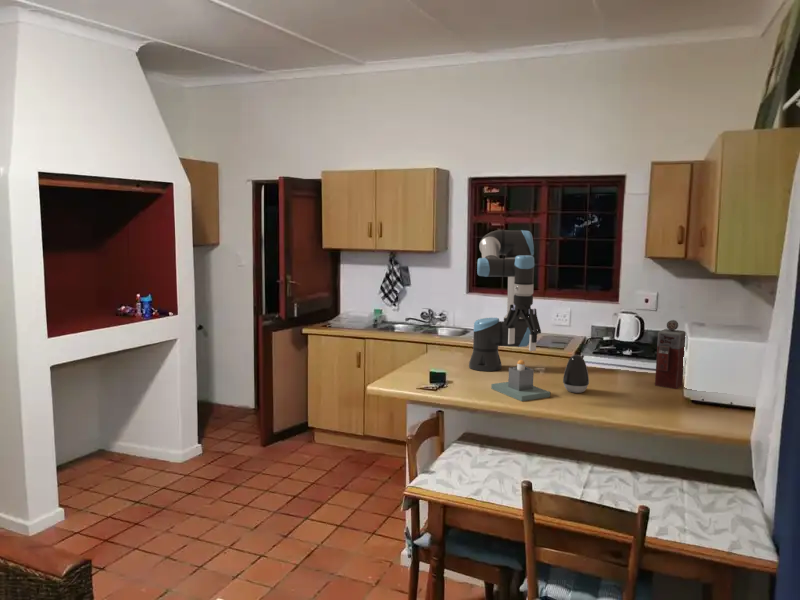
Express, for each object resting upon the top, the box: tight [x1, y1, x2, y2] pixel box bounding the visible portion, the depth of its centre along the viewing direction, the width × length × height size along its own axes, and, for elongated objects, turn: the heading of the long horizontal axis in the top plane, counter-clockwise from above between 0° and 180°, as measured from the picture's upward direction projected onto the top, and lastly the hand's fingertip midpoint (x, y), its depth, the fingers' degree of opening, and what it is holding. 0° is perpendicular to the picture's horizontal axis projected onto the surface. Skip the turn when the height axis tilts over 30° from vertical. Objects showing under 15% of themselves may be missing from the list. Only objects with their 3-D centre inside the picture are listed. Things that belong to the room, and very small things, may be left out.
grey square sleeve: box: [507, 366, 535, 391], centre depth 260 cm, size 7×7×8 cm
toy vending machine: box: [654, 319, 687, 390], centre depth 272 cm, size 9×11×28 cm
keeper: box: [490, 359, 551, 402], centre depth 259 cm, size 20×14×14 cm
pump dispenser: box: [562, 354, 590, 394], centre depth 262 cm, size 10×10×15 cm
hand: (521, 347), depth 258 cm, fingers open, 13 cm apart
